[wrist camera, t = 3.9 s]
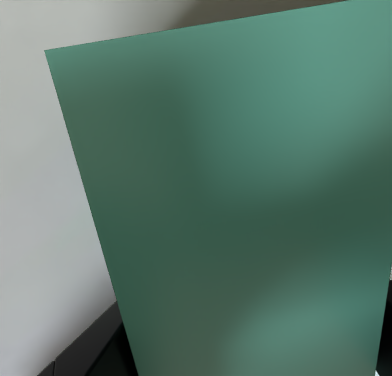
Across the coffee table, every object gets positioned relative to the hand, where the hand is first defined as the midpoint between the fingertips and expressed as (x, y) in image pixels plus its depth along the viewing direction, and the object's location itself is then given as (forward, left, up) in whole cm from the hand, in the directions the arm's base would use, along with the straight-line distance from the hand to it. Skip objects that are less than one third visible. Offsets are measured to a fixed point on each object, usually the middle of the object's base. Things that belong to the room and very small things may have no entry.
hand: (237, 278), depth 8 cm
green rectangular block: (0, 0, -1) cm, 1 cm away
